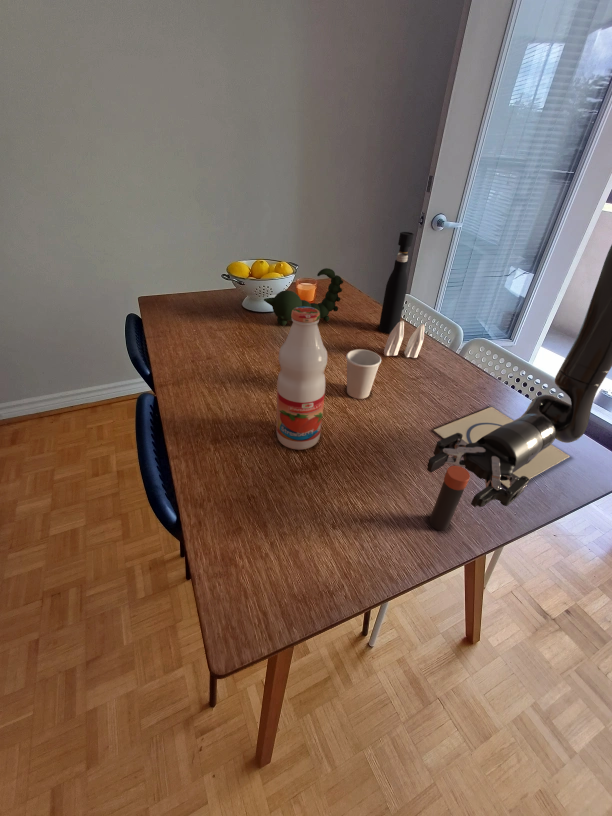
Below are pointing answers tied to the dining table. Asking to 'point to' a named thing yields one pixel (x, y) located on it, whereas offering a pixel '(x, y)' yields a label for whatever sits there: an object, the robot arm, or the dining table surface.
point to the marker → (449, 497)
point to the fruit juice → (301, 381)
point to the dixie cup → (361, 372)
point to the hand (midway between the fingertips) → (451, 484)
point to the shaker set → (397, 337)
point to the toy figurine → (290, 300)
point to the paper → (490, 421)
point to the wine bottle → (396, 287)
